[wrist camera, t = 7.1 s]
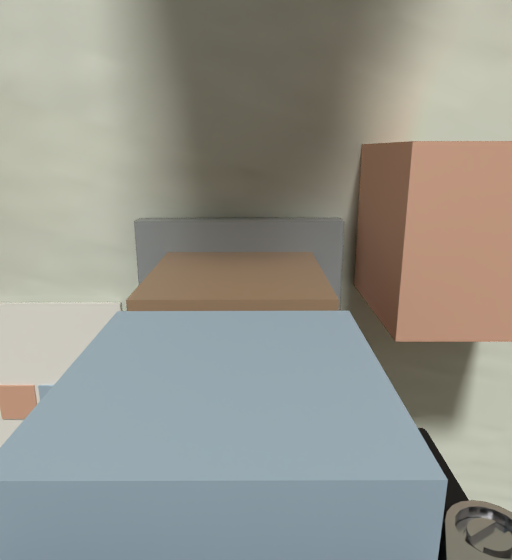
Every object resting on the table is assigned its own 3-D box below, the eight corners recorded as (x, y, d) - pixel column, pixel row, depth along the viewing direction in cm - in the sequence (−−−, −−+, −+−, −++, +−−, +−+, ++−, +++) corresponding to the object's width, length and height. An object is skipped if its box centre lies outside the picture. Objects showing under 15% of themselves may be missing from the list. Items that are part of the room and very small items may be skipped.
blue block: (349, 310, 11) (447, 480, 5) (338, 503, 13) (407, 797, 7) (117, 311, 11) (-29, 480, 5) (134, 504, 13) (33, 797, 7)
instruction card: (121, 302, 19) (119, 304, 19) (136, 484, 22) (134, 489, 22) (-23, 302, 19) (-27, 305, 19) (8, 485, 22) (5, 489, 22)
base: (340, 217, 18) (387, 255, 12) (332, 398, 21) (367, 513, 14) (139, 218, 18) (75, 255, 12) (151, 398, 21) (103, 514, 14)
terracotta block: (507, 144, 18) (628, 141, 12) (488, 284, 19) (587, 341, 14) (361, 144, 18) (412, 141, 12) (353, 284, 19) (395, 341, 14)
